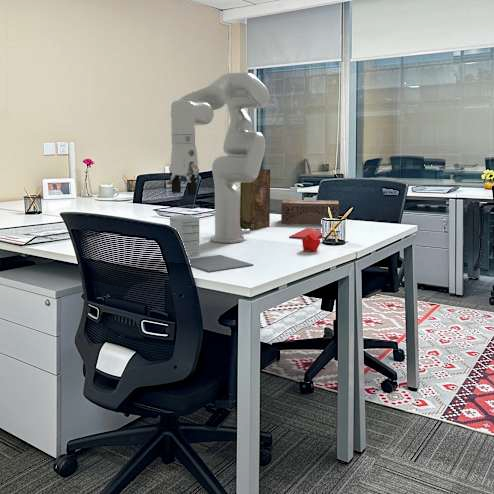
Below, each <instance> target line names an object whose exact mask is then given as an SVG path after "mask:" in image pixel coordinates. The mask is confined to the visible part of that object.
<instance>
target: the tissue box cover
mask: <svg viewBox="0 0 494 494" xmlns="http://www.w3.org/2000/svg"><path fill="white" fill-rule="evenodd" d="M328 207H329V208H330V211H331V214H332V217H334V218H338V219H339V212H340V203H339V200H318V199H317V200H316V199H315V200H314V199H313V200H312V199H311V200H310V199H283V200H282V201H281V209H280V210H281V212H280V213H281V216H280V224H281V225H299V226H300V225H301V226H302V225H304V226H305V225H306V226H322V225H321V218H323V217H328Z"/></svg>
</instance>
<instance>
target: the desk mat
mask: <svg viewBox="0 0 494 494" xmlns="http://www.w3.org/2000/svg"><path fill="white" fill-rule="evenodd" d="M188 259H189V260H190V264H191V266H190V267H192V268H195V267H196V269H198V270H201V271H203V272H207V273H214V271H215V272H219V271H227V270H234V269H239V268H241V269H242V268H247V267H253V266H254V263H249V262H246V261H243V260H239V259H236V258H232V257H229V256H227V255H221V254H216V255H209V256H208V255H207V256H201V257H195V258H193V257H192V258H188Z"/></svg>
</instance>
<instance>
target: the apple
mask: <svg viewBox="0 0 494 494" xmlns="http://www.w3.org/2000/svg"><path fill="white" fill-rule="evenodd" d="M301 242H302V243H301V244H302V248H303V251H305V252H314V253H315V252H317V250H318V248H319V246H320V244H321V242H322V241H321V240H320V239H318V238H317V237H316V236H315V235H314V234H313V233H311V234H309V235H307V236H305V237H303V238H302V239H301Z"/></svg>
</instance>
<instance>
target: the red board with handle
mask: <svg viewBox="0 0 494 494" xmlns="http://www.w3.org/2000/svg"><path fill="white" fill-rule="evenodd" d="M311 233H313V234H314V235H315V236H316V237H317V238H318V239H319V240H320V239H322V233H321V227H318V226H317V227H315V228H311V227H310V228H309V227H308V228H305V229H302V230H300V231H297V232H295V233H294V234H291V235H289V237H288V238H289V239H296V240H302V238H303V237H305V236H307V235H309V234H311Z"/></svg>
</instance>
